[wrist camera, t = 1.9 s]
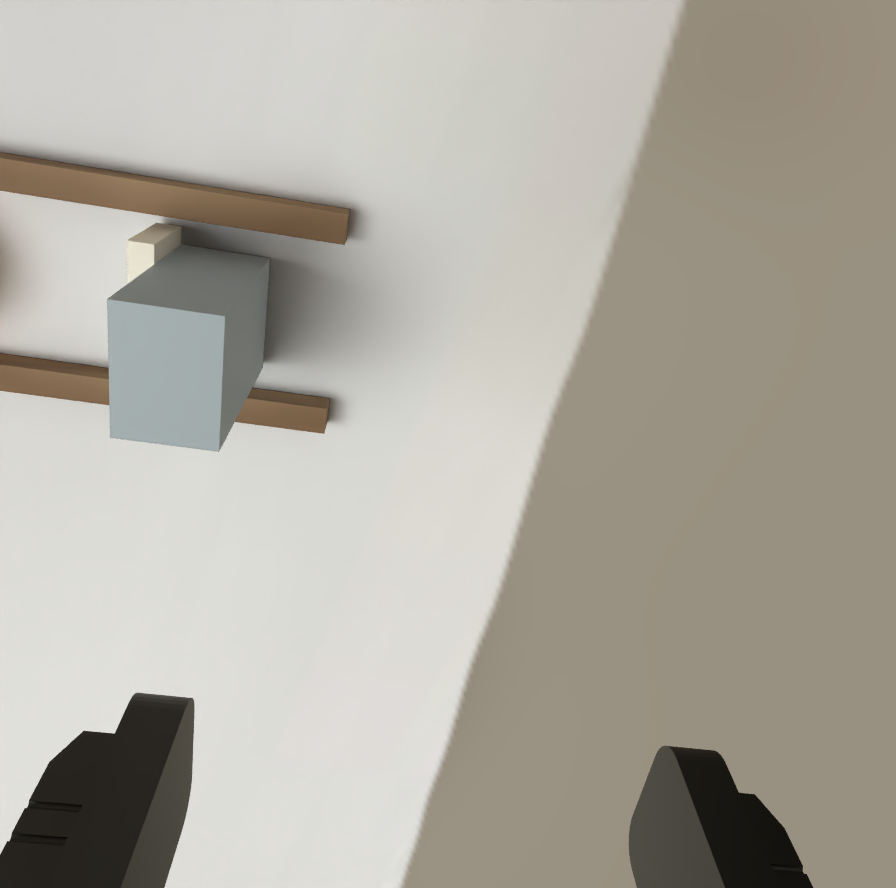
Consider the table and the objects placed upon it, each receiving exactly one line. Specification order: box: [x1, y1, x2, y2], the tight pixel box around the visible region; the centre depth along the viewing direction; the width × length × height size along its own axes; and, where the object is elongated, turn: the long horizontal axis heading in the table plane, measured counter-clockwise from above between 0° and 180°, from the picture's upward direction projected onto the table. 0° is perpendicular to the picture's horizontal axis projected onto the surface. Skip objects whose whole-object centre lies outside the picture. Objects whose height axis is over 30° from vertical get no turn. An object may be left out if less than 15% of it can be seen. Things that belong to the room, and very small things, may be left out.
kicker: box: [107, 223, 270, 452], centre depth 24 cm, size 5×4×7 cm
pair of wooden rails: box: [0, 153, 350, 434], centre depth 27 cm, size 8×18×1 cm, turn 81°
